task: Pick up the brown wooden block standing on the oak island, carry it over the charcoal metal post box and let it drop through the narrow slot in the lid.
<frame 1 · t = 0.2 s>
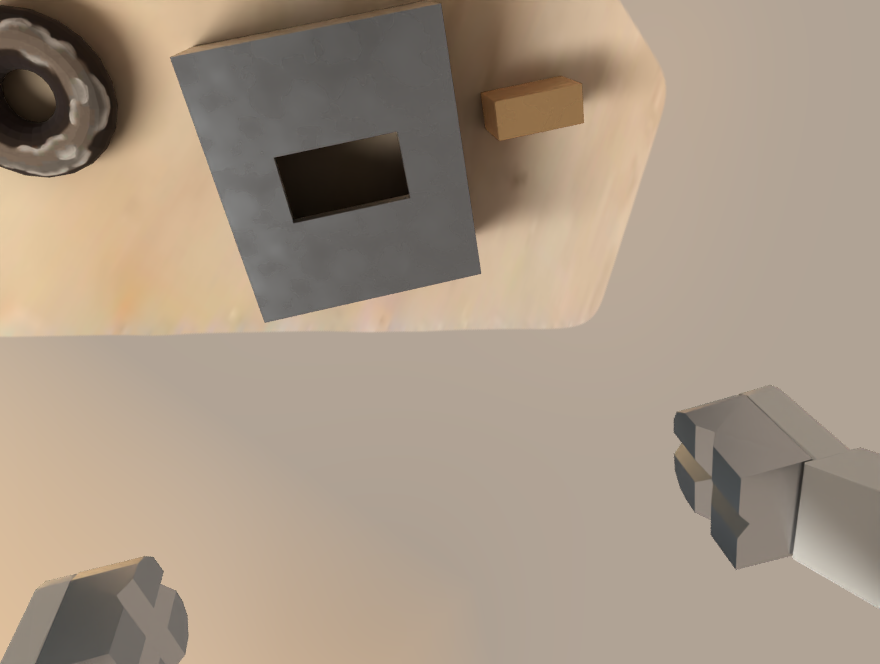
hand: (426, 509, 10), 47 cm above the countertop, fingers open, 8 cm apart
post box: (341, 153, 53), on the countertop
donut: (40, 91, 48), on the countertop
brown wooden block: (522, 102, 54), on the countertop
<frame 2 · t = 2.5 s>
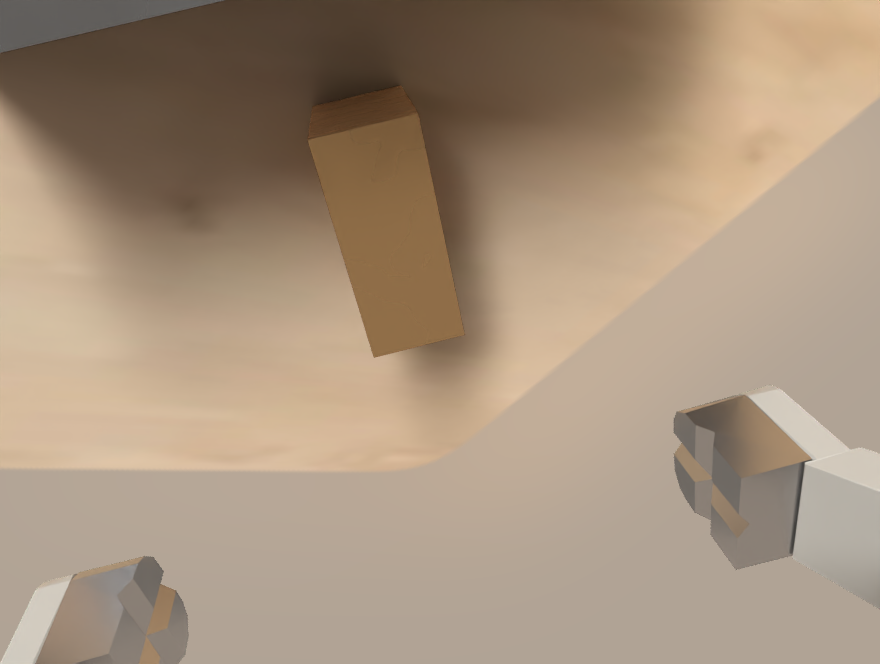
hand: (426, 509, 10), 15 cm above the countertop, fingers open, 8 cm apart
brown wooden block: (382, 195, 23), on the countertop
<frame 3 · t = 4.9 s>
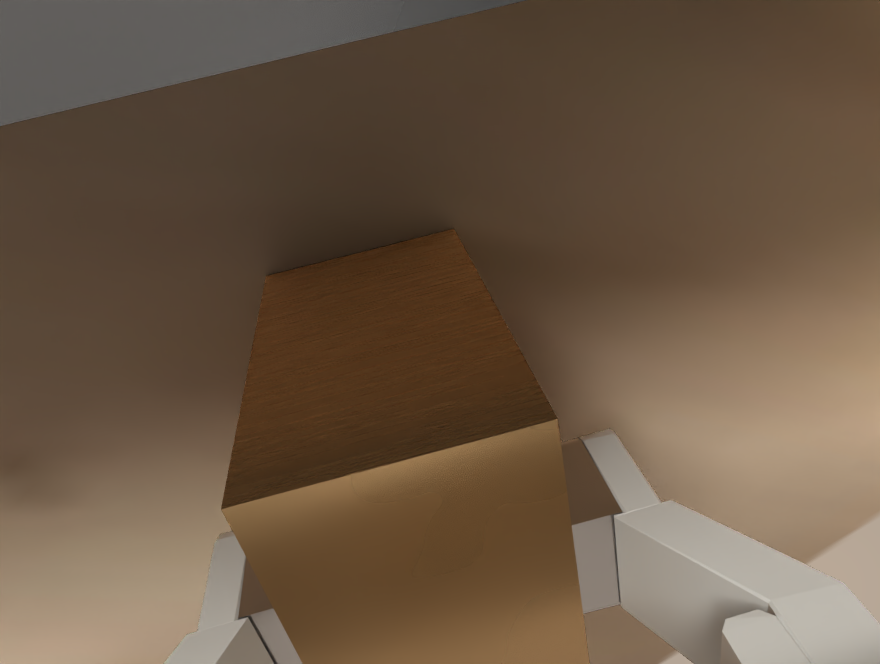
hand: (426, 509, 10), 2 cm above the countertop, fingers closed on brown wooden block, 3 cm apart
brown wooden block: (410, 425, 11), on the countertop, touching gripper
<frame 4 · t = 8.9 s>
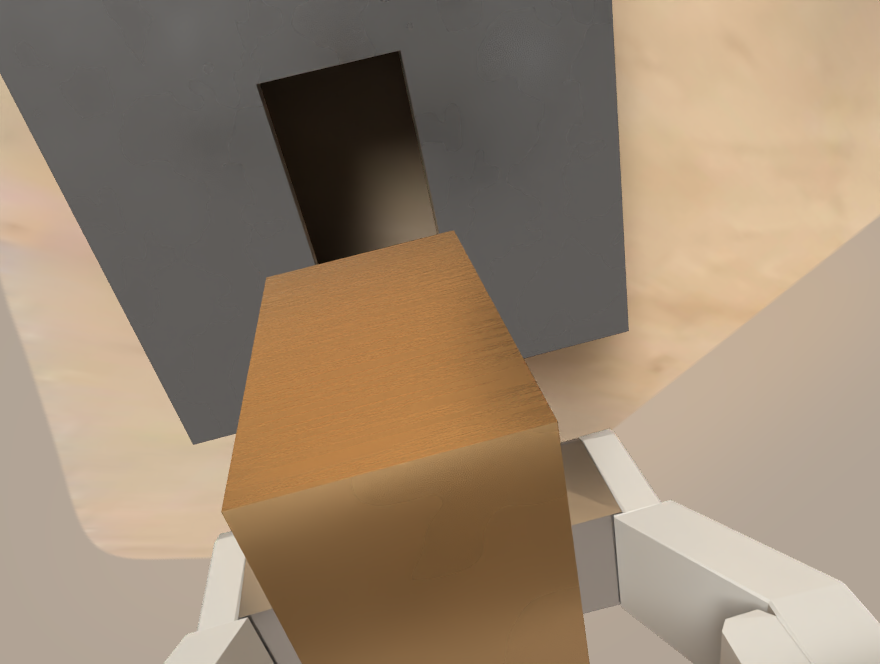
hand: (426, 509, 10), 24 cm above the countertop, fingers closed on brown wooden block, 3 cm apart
post box: (353, 146, 30), on the countertop
brown wooden block: (410, 426, 12), point 22 cm above the countertop, touching gripper
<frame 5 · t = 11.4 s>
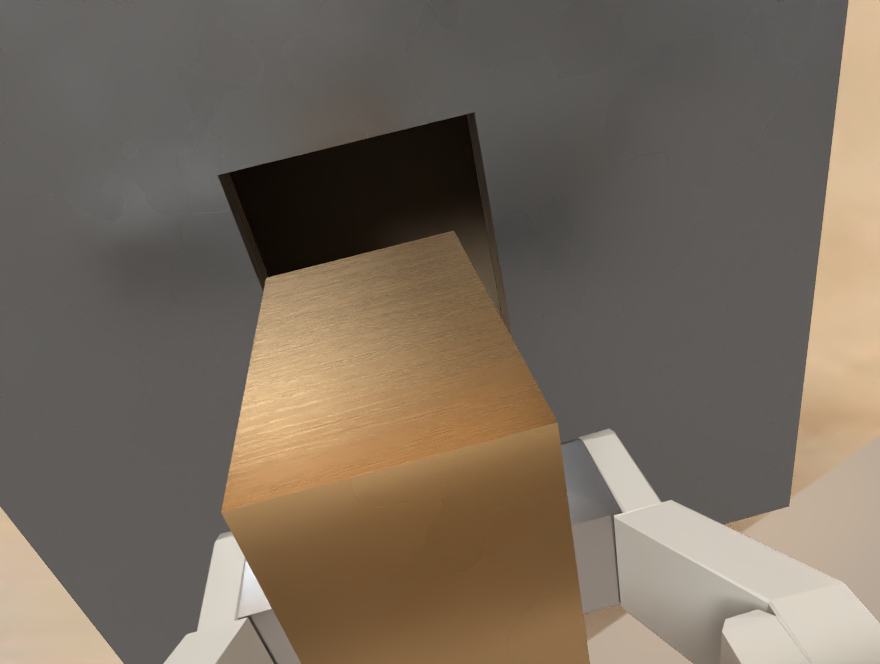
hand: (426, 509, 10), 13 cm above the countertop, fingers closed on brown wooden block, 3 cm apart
post box: (377, 223, 21), on the countertop
brown wooden block: (410, 426, 11), point 11 cm above the countertop, touching gripper
when the fingers open (10 cm above the countertop, at t = 13.4 s): brown wooden block drops 8 cm, resting in post box.
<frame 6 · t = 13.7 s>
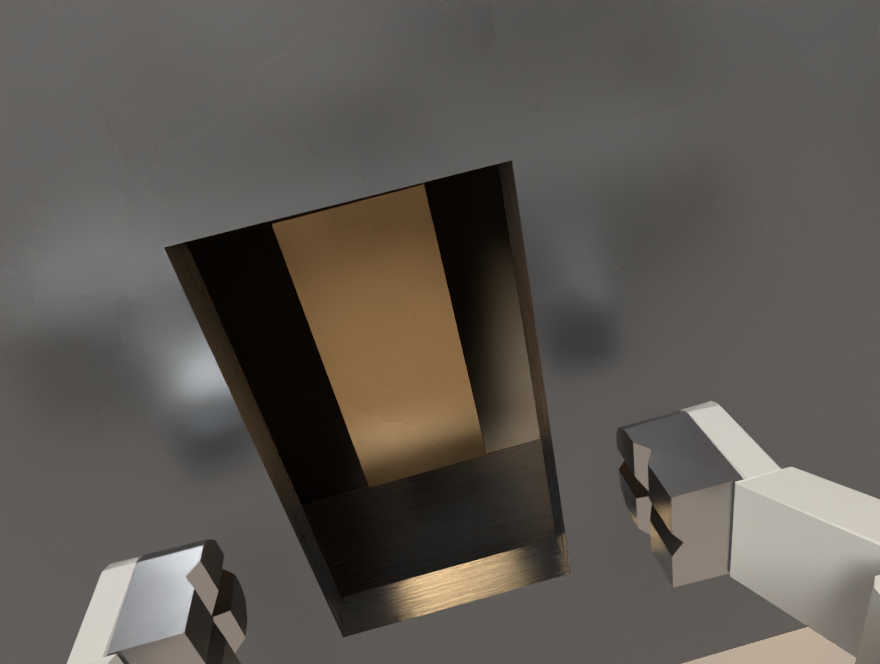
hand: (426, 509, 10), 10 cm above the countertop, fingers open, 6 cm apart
post box: (376, 268, 18), on the countertop
brown wooden block: (375, 266, 18), resting in post box
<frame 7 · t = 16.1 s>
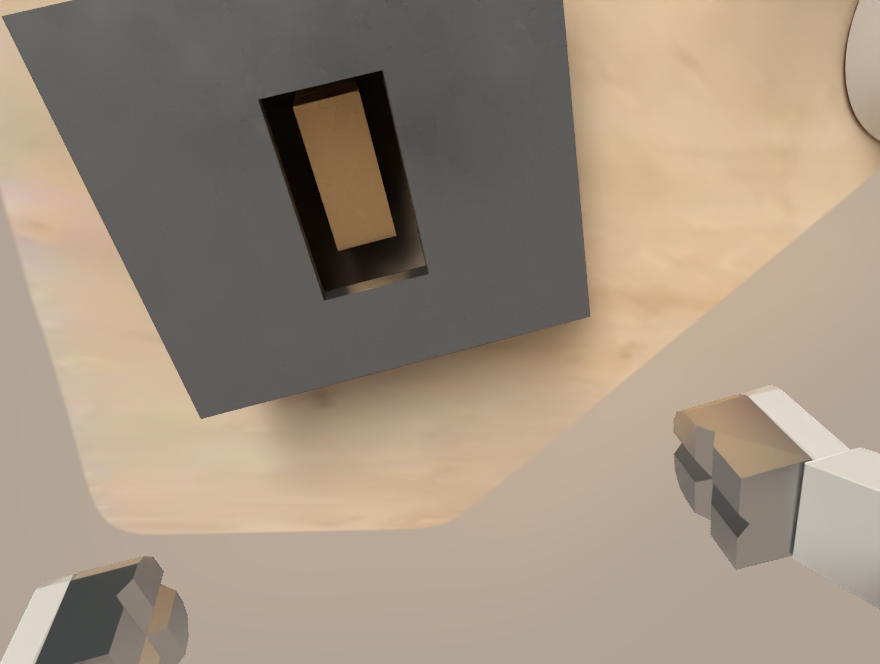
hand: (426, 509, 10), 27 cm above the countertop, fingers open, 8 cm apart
post box: (343, 152, 34), on the countertop
brown wooden block: (343, 151, 34), resting in post box
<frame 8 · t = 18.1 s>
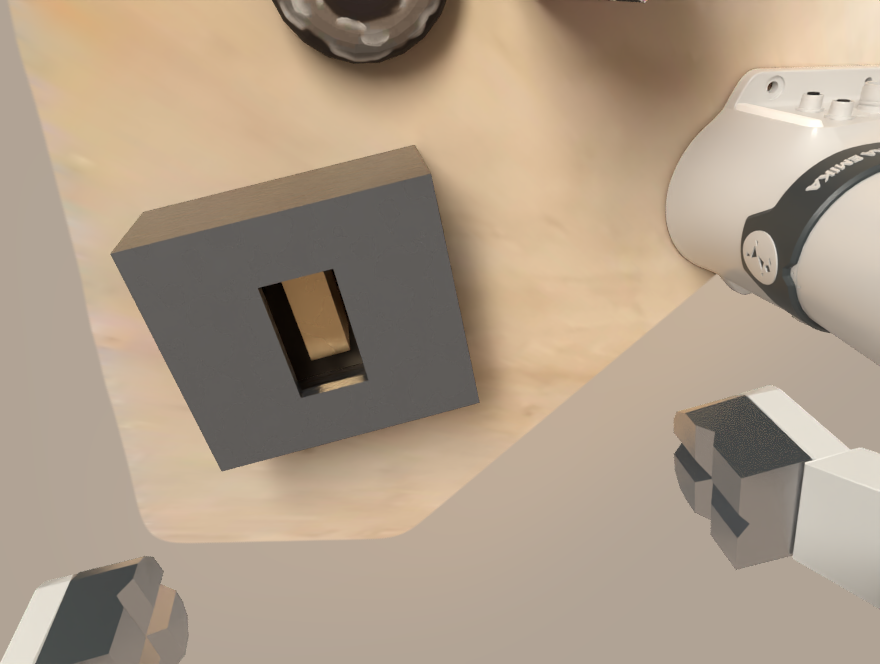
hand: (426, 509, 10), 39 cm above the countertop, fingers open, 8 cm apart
post box: (317, 287, 50), on the countertop
brown wooden block: (317, 287, 50), resting in post box
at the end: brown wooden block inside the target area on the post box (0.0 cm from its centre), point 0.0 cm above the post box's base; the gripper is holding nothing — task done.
